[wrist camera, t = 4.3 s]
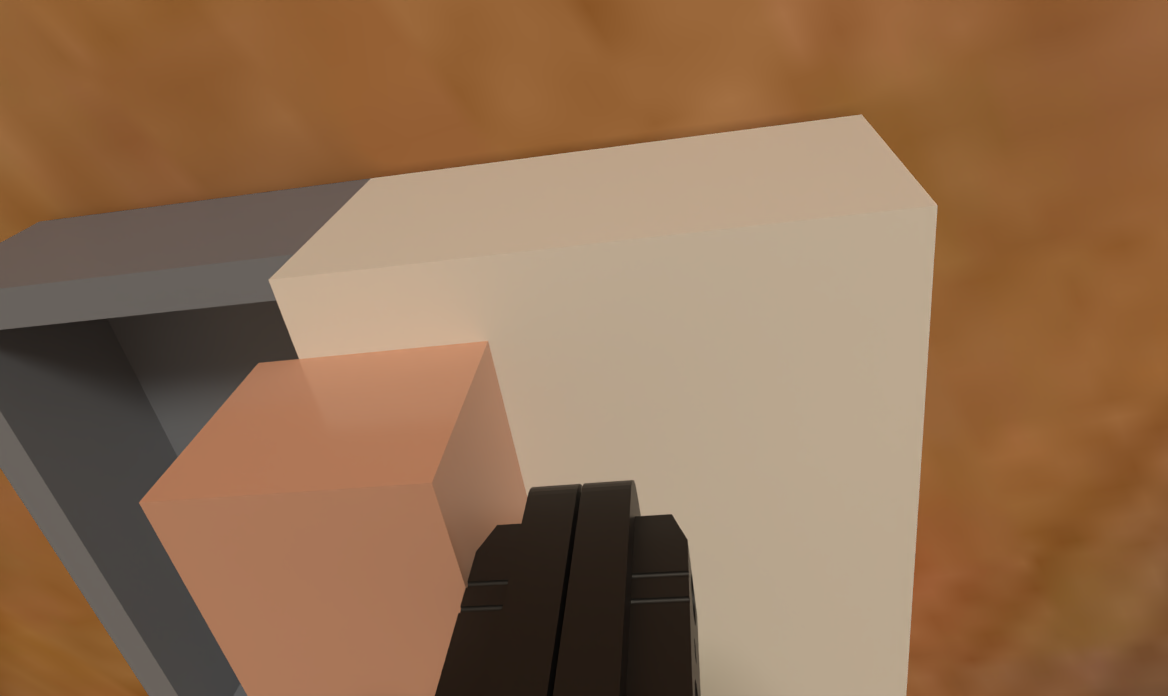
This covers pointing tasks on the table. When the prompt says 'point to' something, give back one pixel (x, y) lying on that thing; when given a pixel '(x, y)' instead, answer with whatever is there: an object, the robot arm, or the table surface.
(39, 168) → the table surface
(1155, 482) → the table surface
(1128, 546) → the table surface
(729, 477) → the cream rectangular block
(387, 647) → the orange cube
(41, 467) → the box
